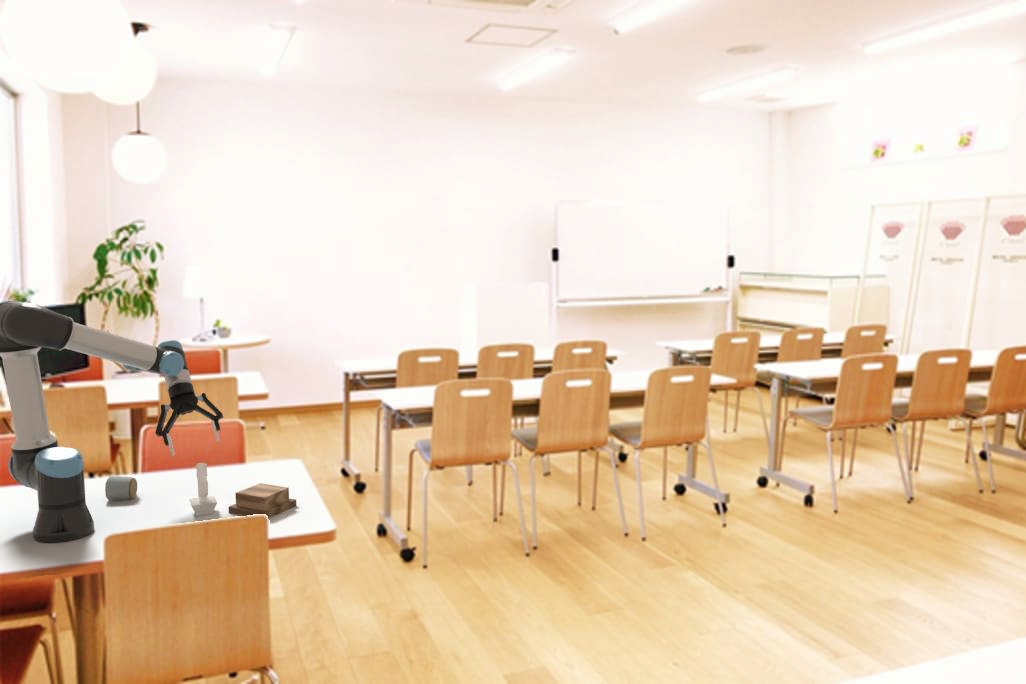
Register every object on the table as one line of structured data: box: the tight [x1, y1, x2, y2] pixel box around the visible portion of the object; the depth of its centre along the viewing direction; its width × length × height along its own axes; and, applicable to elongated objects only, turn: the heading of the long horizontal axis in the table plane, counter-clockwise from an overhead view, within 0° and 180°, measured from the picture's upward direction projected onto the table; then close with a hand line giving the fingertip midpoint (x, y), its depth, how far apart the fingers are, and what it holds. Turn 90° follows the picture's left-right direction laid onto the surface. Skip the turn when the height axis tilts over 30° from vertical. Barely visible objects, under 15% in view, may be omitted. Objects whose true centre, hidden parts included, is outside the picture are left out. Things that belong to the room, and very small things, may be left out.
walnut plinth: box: [228, 482, 297, 519], centre depth 260 cm, size 14×14×6 cm
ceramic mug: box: [104, 475, 138, 501], centre depth 272 cm, size 10×8×7 cm
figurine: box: [189, 462, 218, 517], centre depth 256 cm, size 7×9×15 cm
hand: (195, 447), depth 265 cm, fingers open, 13 cm apart
